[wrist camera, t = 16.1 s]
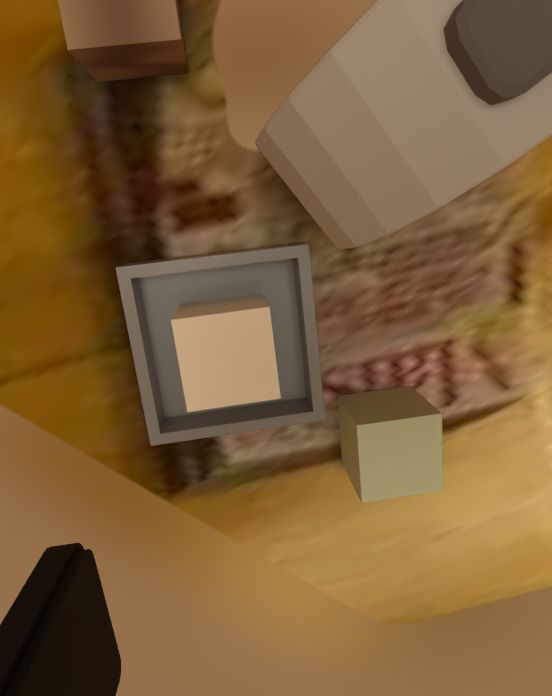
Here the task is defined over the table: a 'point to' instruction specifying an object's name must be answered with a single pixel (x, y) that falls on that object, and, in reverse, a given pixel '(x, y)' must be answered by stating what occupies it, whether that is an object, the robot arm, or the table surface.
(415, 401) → the sage block
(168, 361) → the grey tray
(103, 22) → the walnut block
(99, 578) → the robot arm
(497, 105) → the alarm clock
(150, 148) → the table surface
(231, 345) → the cream block
